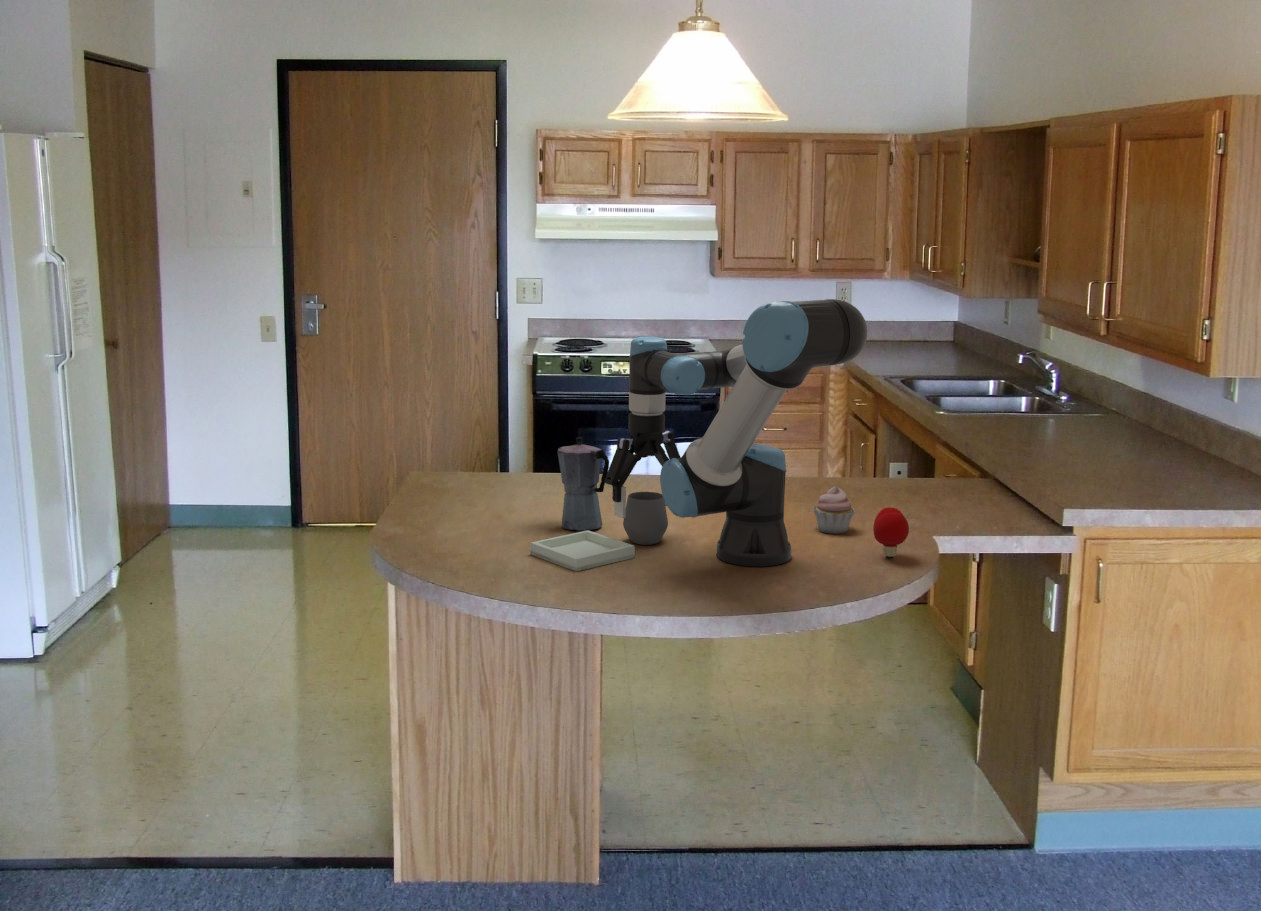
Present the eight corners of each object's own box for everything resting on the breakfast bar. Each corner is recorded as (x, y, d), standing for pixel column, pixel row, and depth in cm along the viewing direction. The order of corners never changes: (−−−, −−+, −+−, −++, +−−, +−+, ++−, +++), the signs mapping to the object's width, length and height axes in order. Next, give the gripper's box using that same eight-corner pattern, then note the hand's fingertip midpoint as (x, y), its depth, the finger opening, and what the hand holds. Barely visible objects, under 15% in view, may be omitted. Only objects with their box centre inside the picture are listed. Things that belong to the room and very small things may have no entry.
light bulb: (868, 550, 273) (871, 504, 270) (902, 551, 272) (905, 504, 270) (875, 564, 264) (878, 515, 261) (910, 564, 263) (913, 516, 261)
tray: (634, 557, 266) (634, 545, 266) (576, 571, 257) (576, 559, 256) (587, 541, 277) (588, 530, 277) (530, 554, 268) (530, 542, 267)
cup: (676, 543, 277) (677, 497, 274) (639, 550, 271) (640, 503, 269) (650, 533, 284) (651, 488, 282) (614, 539, 279) (614, 493, 277)
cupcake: (818, 537, 283) (820, 491, 281) (806, 525, 292) (808, 481, 290) (860, 535, 284) (862, 490, 282) (847, 524, 293) (849, 480, 291)
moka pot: (572, 517, 297) (572, 430, 293) (624, 529, 287) (625, 439, 283) (543, 525, 290) (542, 436, 285) (596, 538, 280) (596, 446, 276)
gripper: (678, 402, 283) (676, 498, 287) (588, 416, 267) (587, 517, 272) (703, 408, 277) (699, 505, 282) (612, 422, 261) (610, 525, 266)
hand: (644, 511), depth 277 cm, fingers open, 13 cm apart
